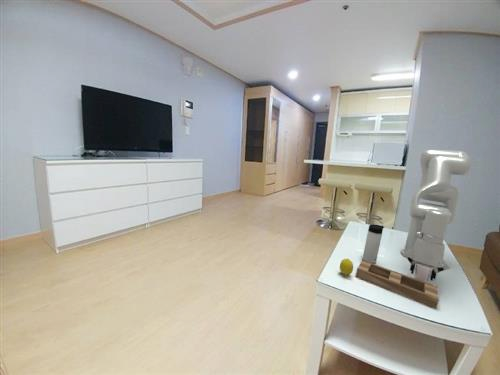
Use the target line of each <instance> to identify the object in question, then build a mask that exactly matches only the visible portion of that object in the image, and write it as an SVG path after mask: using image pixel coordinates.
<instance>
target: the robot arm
mask: <svg viewBox="0 0 500 375" xmlns="http://www.w3.org/2000/svg"><path fill="white" fill-rule="evenodd" d="M419 161H420V169H421V173H422V174H421V179H420V184H419V189H417V190H416V191H415V192H414V193H413V195H412V199H411V201H410V206H409V215H410V218H411V219H410V223H409V224H410V225H409V229H408V232H407V236H406V240H405V241H406V242H405V245H404V249H400V254H401V255H402V256H404V258H406V259H407V260H408V262H409V263H410V266H409V267H410V268H409V271H411V272H410V273H411V274H412V275H414V274H415V273H414V272H415V270H416V264H415V263H416V262H420V263H423V264H426V265H429V266H433V268H434V269H433V270H432V271H431V273H430V276H429V279H430V281H431V282H432V281H434V280H435V279H436V278H437V277H436V276H437V274H438V273H440V272H443V271H446V270H450V265H449V264H448V263H447V262H446V261H445V258H444V256H445V249H446V247H445V246H446V245H445V244H444V239H445V236H446V232H447V228H448V225H450V224H452V223H453V221H454V219H455V216H456V215H455V214H456V210H457V205H458V201H459V194H460V192H459V189H458V188H457V187H456V186H454V185H451V182H452V181H451V179H452V176H453V175H454V176H455V175H456V176H466V175H467V174H469V172H470V170H471V166H472V163H471V158H470V156H468V154H467V153H466V152H465V151H462V150H449V149H448V150H447V149H425V150H424V151H423V152H422V153H421V154H420V160H419ZM420 200H425V201H430V202H436V203H441V204H436V203H430V202H424V201H420ZM442 204H443V205H442ZM442 265H443V266H442Z"/></svg>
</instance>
